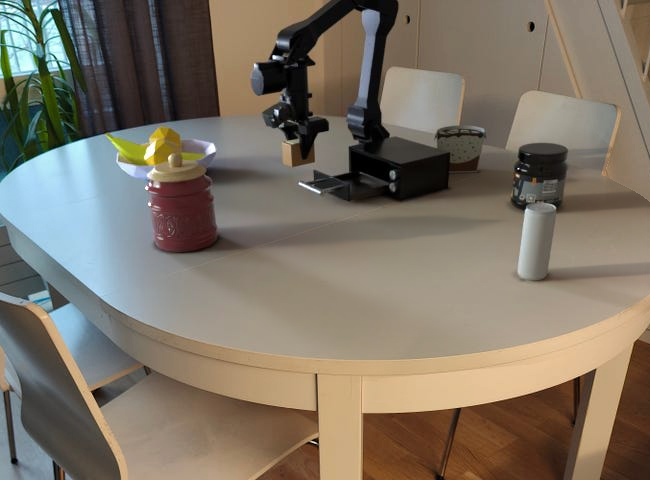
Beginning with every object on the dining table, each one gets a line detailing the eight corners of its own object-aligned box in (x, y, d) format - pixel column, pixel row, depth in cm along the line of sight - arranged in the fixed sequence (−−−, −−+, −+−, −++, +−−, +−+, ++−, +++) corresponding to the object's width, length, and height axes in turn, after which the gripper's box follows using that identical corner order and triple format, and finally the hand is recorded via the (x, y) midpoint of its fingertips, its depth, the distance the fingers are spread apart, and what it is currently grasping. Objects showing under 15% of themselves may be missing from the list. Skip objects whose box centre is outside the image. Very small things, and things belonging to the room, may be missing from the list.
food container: (480, 164, 173) (483, 123, 168) (483, 171, 167) (487, 129, 162) (430, 166, 174) (432, 125, 169) (432, 173, 169) (434, 131, 164)
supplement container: (525, 194, 151) (532, 139, 145) (571, 203, 145) (580, 146, 139) (500, 207, 145) (506, 150, 139) (546, 217, 139) (555, 158, 132)
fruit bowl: (236, 163, 187) (232, 120, 181) (183, 193, 166) (177, 146, 161) (152, 157, 198) (145, 116, 192) (92, 185, 177) (83, 140, 171)
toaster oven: (346, 181, 167) (345, 146, 163) (394, 170, 173) (395, 136, 169) (397, 202, 152) (398, 164, 148) (448, 188, 158) (450, 152, 154)
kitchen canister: (191, 257, 132) (178, 166, 122) (141, 247, 138) (125, 159, 129) (231, 234, 141) (222, 148, 132) (182, 226, 147) (170, 142, 138)
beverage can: (512, 271, 118) (520, 203, 112) (540, 268, 118) (549, 201, 112) (523, 282, 114) (532, 213, 108) (551, 280, 114) (562, 210, 108)
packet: (282, 163, 166) (281, 141, 163) (305, 158, 169) (304, 136, 166) (292, 167, 163) (290, 144, 160) (315, 162, 165) (314, 140, 162)
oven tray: (293, 191, 159) (292, 174, 157) (357, 176, 166) (357, 159, 164) (326, 207, 148) (326, 189, 146) (393, 190, 156) (394, 172, 154)
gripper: (246, 89, 161) (252, 156, 169) (286, 100, 147) (290, 172, 155) (287, 82, 165) (290, 147, 173) (329, 92, 151) (331, 163, 159)
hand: (299, 157), depth 165 cm, fingers closed on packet, 4 cm apart
